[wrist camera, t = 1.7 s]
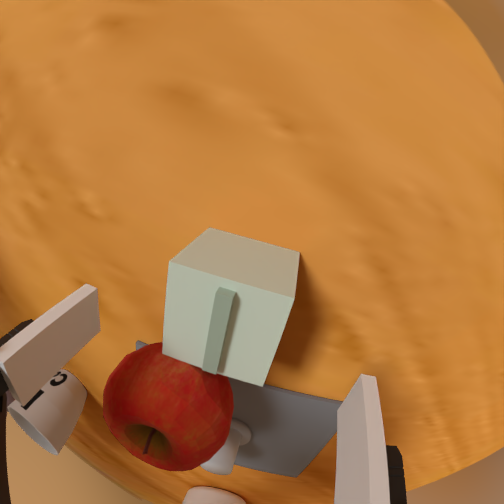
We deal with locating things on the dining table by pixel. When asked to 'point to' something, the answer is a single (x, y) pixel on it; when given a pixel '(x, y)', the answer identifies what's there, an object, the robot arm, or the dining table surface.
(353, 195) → the dining table surface
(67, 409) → the cup
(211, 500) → the cup
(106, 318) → the dining table surface
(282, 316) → the pale green block
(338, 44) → the dining table surface
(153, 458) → the apple
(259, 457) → the grey piece
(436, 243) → the dining table surface
